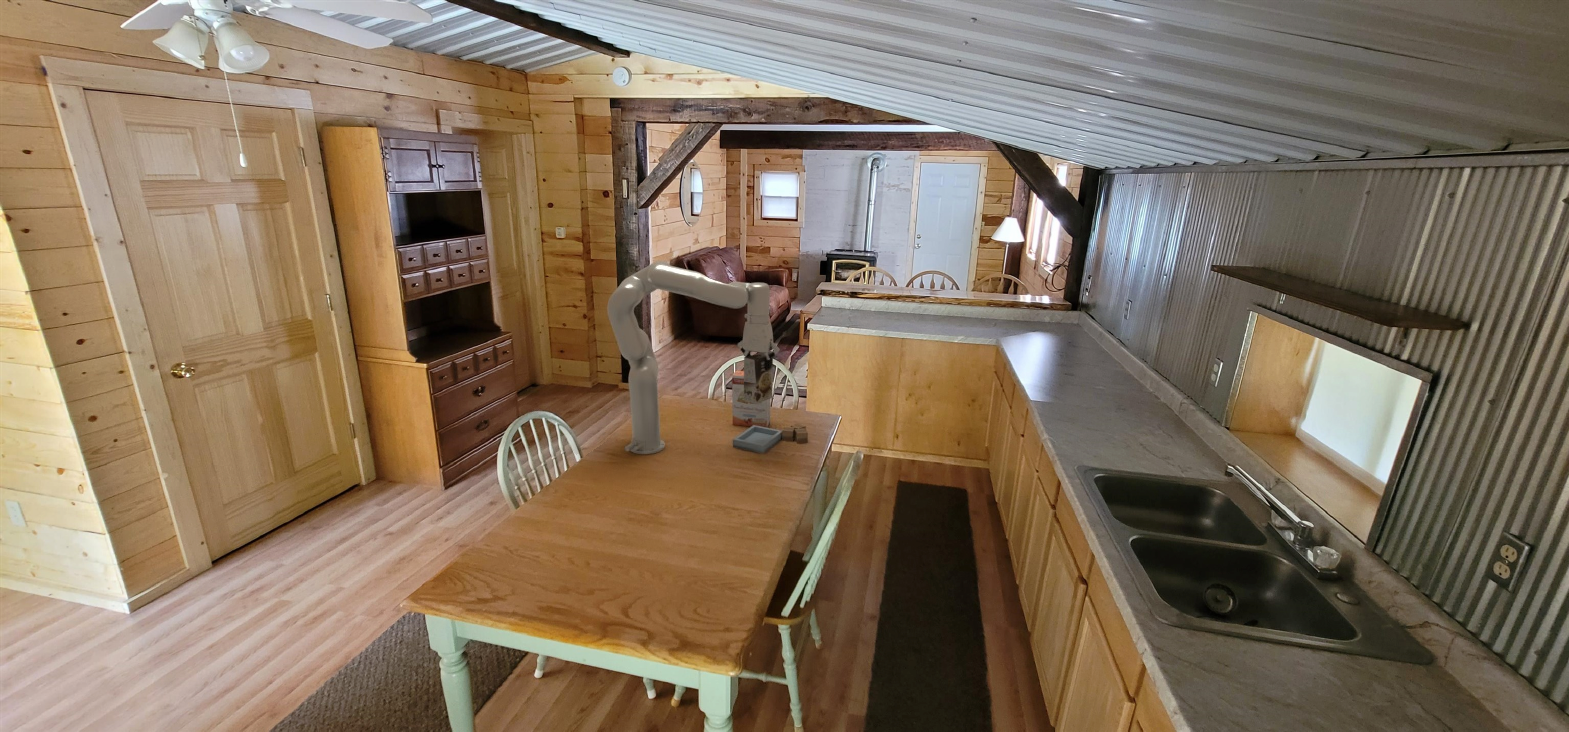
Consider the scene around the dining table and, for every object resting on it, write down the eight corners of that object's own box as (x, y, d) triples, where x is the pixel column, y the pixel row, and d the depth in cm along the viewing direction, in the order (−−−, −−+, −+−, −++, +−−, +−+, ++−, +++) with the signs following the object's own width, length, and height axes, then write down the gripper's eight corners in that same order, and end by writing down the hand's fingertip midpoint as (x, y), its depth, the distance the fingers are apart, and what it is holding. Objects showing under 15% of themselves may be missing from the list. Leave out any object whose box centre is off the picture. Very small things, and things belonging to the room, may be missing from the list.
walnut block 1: (792, 441, 238) (792, 431, 237) (782, 440, 239) (782, 430, 238) (794, 437, 242) (794, 427, 241) (784, 436, 242) (784, 426, 241)
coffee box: (757, 404, 226) (757, 360, 221) (743, 400, 230) (743, 357, 225) (773, 397, 233) (773, 354, 228) (759, 394, 237) (759, 351, 232)
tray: (763, 453, 227) (763, 445, 226) (732, 446, 232) (732, 439, 231) (782, 438, 240) (783, 430, 239) (753, 432, 245) (753, 424, 245)
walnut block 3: (807, 442, 237) (807, 432, 236) (797, 443, 236) (797, 433, 235) (804, 438, 241) (804, 428, 240) (794, 439, 240) (794, 429, 239)
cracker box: (732, 425, 252) (731, 374, 246) (736, 419, 258) (735, 369, 252) (766, 428, 249) (767, 377, 243) (770, 423, 255) (770, 372, 249)
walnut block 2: (798, 438, 241) (798, 428, 239) (790, 435, 243) (790, 425, 242) (805, 435, 243) (805, 425, 242) (798, 432, 246) (798, 422, 245)
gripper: (731, 318, 223) (731, 367, 228) (775, 323, 216) (775, 374, 221) (742, 314, 230) (742, 362, 235) (785, 319, 222) (785, 368, 228)
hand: (758, 367), depth 228 cm, fingers closed on coffee box, 7 cm apart
